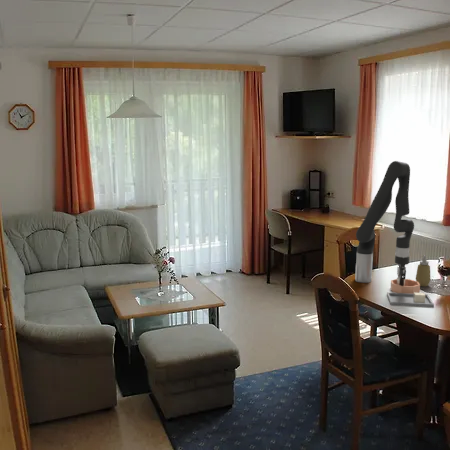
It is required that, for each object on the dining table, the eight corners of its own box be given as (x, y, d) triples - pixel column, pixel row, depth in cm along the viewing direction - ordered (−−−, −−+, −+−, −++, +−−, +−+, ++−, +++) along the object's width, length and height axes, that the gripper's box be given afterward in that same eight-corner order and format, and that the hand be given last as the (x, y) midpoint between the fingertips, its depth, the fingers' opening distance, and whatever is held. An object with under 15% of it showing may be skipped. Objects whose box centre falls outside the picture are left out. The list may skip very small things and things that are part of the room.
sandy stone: (414, 302, 265) (415, 294, 264) (413, 299, 268) (413, 292, 268) (424, 302, 264) (425, 295, 263) (423, 300, 268) (423, 292, 267)
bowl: (393, 294, 279) (393, 285, 278) (389, 286, 293) (389, 278, 292) (421, 296, 276) (421, 287, 275) (415, 287, 290) (416, 279, 289)
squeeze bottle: (429, 283, 297) (431, 254, 294) (430, 288, 290) (432, 257, 286) (415, 282, 300) (417, 253, 297) (415, 286, 292) (417, 256, 289)
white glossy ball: (397, 286, 283) (397, 279, 282) (396, 283, 287) (396, 276, 286) (405, 286, 282) (406, 279, 281) (404, 283, 286) (404, 277, 285)
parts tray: (390, 305, 261) (390, 302, 261) (386, 295, 277) (386, 292, 276) (433, 308, 258) (434, 304, 257) (427, 297, 273) (427, 294, 273)
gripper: (393, 251, 289) (391, 280, 292) (397, 258, 275) (395, 288, 278) (407, 252, 287) (405, 281, 291) (411, 258, 274) (410, 288, 277)
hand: (400, 284), depth 284 cm, fingers closed on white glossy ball, 4 cm apart
